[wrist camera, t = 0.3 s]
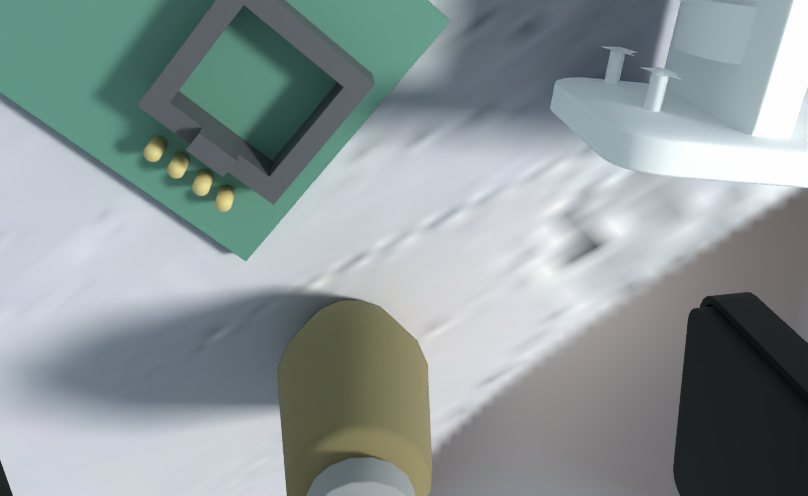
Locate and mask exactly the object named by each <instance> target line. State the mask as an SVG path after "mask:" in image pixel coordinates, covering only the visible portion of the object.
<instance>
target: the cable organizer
mask: <svg viewBox="0 0 808 496" xmlns="http://www.w3.org/2000/svg"><path fill="white" fill-rule="evenodd" d="M600 47H603V48H607V49H610V56H609V60H608V65H607V70H606V74H605V79H597V78H583V77H571V78H562V79H558V80H556V81H555V85H554V90H553V95H552V100H551V106H550V109H551V111H552V112H553V113H554V114H555V115H557V116H558V117H559V118H560V119H561V120H562V121H563V122H564V123H565V124H566V125H567V126H568V127H569V128H570V129H572V130H573V131H574V132H575V133H576V134H577V135H578V136H579V137H580V138H581V139H582V140H583V141H584V142H585V143H587V144H588V145H589V146H590V147H591V148H592V149H593V150H594V151H595V152H596V153H597V154H598V155H599V156H600V157H602V158H603V159H604V160H606V161H608V162H610V163H612V164H614V165H617V166H619V167H622V168H626V169H629V170H633V171H637V172H641V173H646V174H652V175H658V176H666V177H677V178H690V179H702V180H715V181H727V182H740V183H752V184H764V185H777V186H789V187H802V188H808V102H806V101H803V98H804V95H805V92H806V89H807V86H808V0H681V3H680V7H679V11H678V15H677V19H676V23H675V27H674V31H673V36H672V40H671V44H670V48H669V52H668V56H667V60H666V64H665V68H664V69H663V68H658V67H657V68H644V67H639V68H642V69H645V70H648V71H652V74H651V79H650V83H649V84H648V83H638V82H628V81H619V80H620V75H621V71H622V67H623V62H624V58H625V54H629V55H633V54H631V53H639V52H635V51H632V50H629V49H626V48H622V47H607V46H600ZM633 56H634V55H633Z"/></svg>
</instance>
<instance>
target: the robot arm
mask: <svg viewBox="0 0 808 496" xmlns="http://www.w3.org/2000/svg"><path fill="white" fill-rule="evenodd" d="M673 468H674V469H673V472H674V479H675V483H676V487H677V490H678V492H679V494H680V496H808V343H807V342H806V341H805V340H804V339H802V338H801V337H800V336H799V335H798V334H797V333H796V332H795V331H794V330H793V329H791V328H790V327H789V326H788V325H787V324H786V323H785V322H784V321H783V320H781V319H780V318H779V317H778V316H777V315H776V314H775V313H774V312H773V311H772V310H771V309H770V308H769V307H767V306H766V305H765V304H764V303H763V302H762V301H761V300H760V299H759V298H758V297H757V296H755V295H754V294H752V293H750V292H744V293H734V294H725V295H715V296H707V297H706V298H704V299H703V301H702V303H701V305H700V308H694V309H692V310H691V312H690V314H689V317H688V324H687V334H686V345H685V355H684V364H683V375H682V385H681V395H680V405H679V416H678V425H677V435H676V446H675V455H674V465H673ZM0 496H13V495H12V492H11V489H10V486H9V483H8V481H7V478H6V475H5V472H4V469H3V467H2V464H1V461H0Z"/></svg>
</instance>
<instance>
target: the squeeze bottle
mask: <svg viewBox="0 0 808 496" xmlns="http://www.w3.org/2000/svg"><path fill="white" fill-rule="evenodd" d="M278 391H279V404H280V417H281V429H282V442H283V454H284V466H285V479H286V491H287V496H428V494H429V493H430V491H431V478H432V454H431V432H430V409H429V386H428V364H427V362H426V360H425V357H424V355H423V353H422V350H421V348H420V346H419V343H418V341H417V340H416V339H415V338H414V337H413V336H412V335H411V334H410V333H408V332H407V331H406V330H405V329H404V328H403V327H402V326H401V325H400V324H399V323H398V322H397V321H396V320H395V319H394V318H393V317H391V316H390V315H389V314H388V313H387V312H386V311H385V310H383V309H382V308H381V307H380V306H377V305H374V304H371V303H368V302H365V301H362V300H344V301H338V302H336V303H333V304H331V305H328V306H325V307H323V308H321V309H320V310H319V311H318V312H317V313H316V314H315V315H313V316H312V317H311V318H310V319H309V320H308V321H307V322H306V323H305V324H304V326H303V327H302V328H301V329H300V330H299V332H298V333H297V334H296V335H295V336H294V338H293V339H292V340H291V341H290V342H289V344H288V346H287V348H286V350H285V352H284V355H283V357H282V359H281V361H280V364H279V366H278Z"/></svg>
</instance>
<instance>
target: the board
mask: <svg viewBox="0 0 808 496" xmlns="http://www.w3.org/2000/svg"><path fill="white" fill-rule="evenodd" d="M449 22H450V20H449V19H448V18H447V17H445V16H444V15H443V14H442V13H441V12H440V11H439V10H438V9H437V8H436V7H435V6H433V5H432V4H431V3H430V2H429V1H428V0H0V93H2V94H3V95H5V96H6V97H7V98H9V99H10V100H12V101H13V102H15V103H16V104H18V105H19V106H21V107H22V108H23V109H25V110H26V111H28V112H29V113H31V114H32V115H34V116H35V117H37V118H38V119H39V120H41V121H42V122H44V123H45V124H47V125H48V126H50V127H51V128H53V129H54V130H55V131H57V132H58V133H60V134H61V135H63V136H64V137H66V138H67V139H69V140H70V141H71V142H73V143H74V144H76V145H77V146H79V147H80V148H82V149H83V150H85V151H86V152H87V153H89V154H90V155H92V156H93V157H95V158H96V159H98V160H99V161H101V162H102V163H103V164H105V165H106V166H108V167H109V168H111V169H112V170H114V171H115V172H117V173H118V174H119V175H121V176H122V177H124V178H125V179H127V180H128V181H130V182H131V183H133V184H134V185H135V186H137V187H138V188H140V189H141V190H143V191H144V192H146V193H147V194H149V195H150V196H151V197H153V198H154V199H156V200H157V201H159V202H160V203H162V204H163V205H165V206H166V207H167V208H169V209H170V210H172V211H173V212H175V213H176V214H178V215H179V216H181V217H182V218H183V219H185V220H186V221H188V222H189V223H191V224H192V225H194V226H195V227H197V228H198V229H199V230H201V231H202V232H204V233H205V234H207V235H208V236H210V237H211V238H213V239H214V240H215V241H217V242H218V243H220V244H221V245H223V246H224V247H226V248H227V249H229V250H230V251H231V252H233V253H234V254H236V255H237V256H239V257H240V258H242V259H243V260H245V261H247V259H248V258H249V257H250V256H251V255H252V254H253V252H254V251H255V250H256V249H257V248H258V247H259V245H260V244H261V243H262V242H263V241H264V239H265V238H266V237H267V236H268V235H269V234H270V232H271V231H272V230H273V229H274V228H275V227H276V225H277V224H278V223H279V222H280V221H281V220H282V218H283V217H284V216H285V215H286V214H287V212H288V211H289V210H290V209H291V208H292V207H293V205H294V204H295V203H296V202H297V201H298V200H299V198H300V197H301V196H302V195H303V194H304V193H305V191H306V190H307V189H308V188H309V187H310V185H311V184H312V183H313V182H314V181H315V180H316V178H317V177H318V176H319V175H320V174H321V173H322V171H323V170H324V169H325V168H326V167H327V166H328V164H329V163H330V162H331V161H332V160H333V158H334V157H335V156H336V155H337V154H338V153H339V151H340V150H341V149H342V148H343V147H344V146H345V144H346V143H347V142H348V141H349V140H350V138H351V137H352V136H353V135H354V134H355V133H356V131H357V130H358V129H359V128H360V127H361V126H362V124H363V123H364V122H365V121H366V120H367V119H368V117H369V116H370V115H371V114H372V113H373V111H374V110H375V109H376V108H377V107H378V106H379V104H380V103H381V102H382V101H383V100H384V99H385V97H386V96H387V95H388V94H389V93H390V92H391V90H392V89H393V88H394V87H395V86H396V84H397V83H398V82H399V81H400V80H401V79H402V77H403V76H404V75H405V74H406V73H407V72H408V70H409V69H410V68H411V67H412V66H413V65H414V63H415V62H416V61H417V60H418V59H419V57H420V56H421V55H422V54H423V53H424V52H425V50H426V49H427V48H428V47H429V46H430V45H431V43H432V42H433V41H434V40H435V39H436V38H437V36H438V35H439V34H440V33H441V32H442V30H443V29H444V28H445V27H446V26H447V25H448V23H449Z"/></svg>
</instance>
